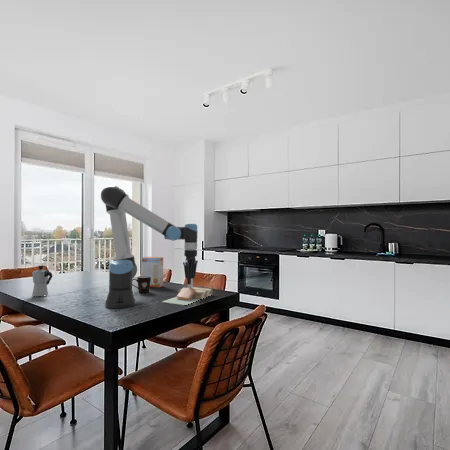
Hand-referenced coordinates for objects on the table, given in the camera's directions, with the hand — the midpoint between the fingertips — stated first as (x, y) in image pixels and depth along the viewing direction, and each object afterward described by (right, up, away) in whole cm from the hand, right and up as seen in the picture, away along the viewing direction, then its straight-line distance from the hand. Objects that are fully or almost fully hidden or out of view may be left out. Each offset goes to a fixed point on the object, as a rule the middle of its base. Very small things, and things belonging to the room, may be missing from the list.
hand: (190, 289), depth 178 cm
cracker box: (-31, -6, +35) cm, 47 cm away
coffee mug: (-33, -5, +15) cm, 36 cm away
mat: (-4, -5, -8) cm, 11 cm away
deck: (+3, -5, +5) cm, 8 cm away
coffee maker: (-89, -4, +1) cm, 89 cm away
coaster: (-2, -3, -4) cm, 5 cm away
